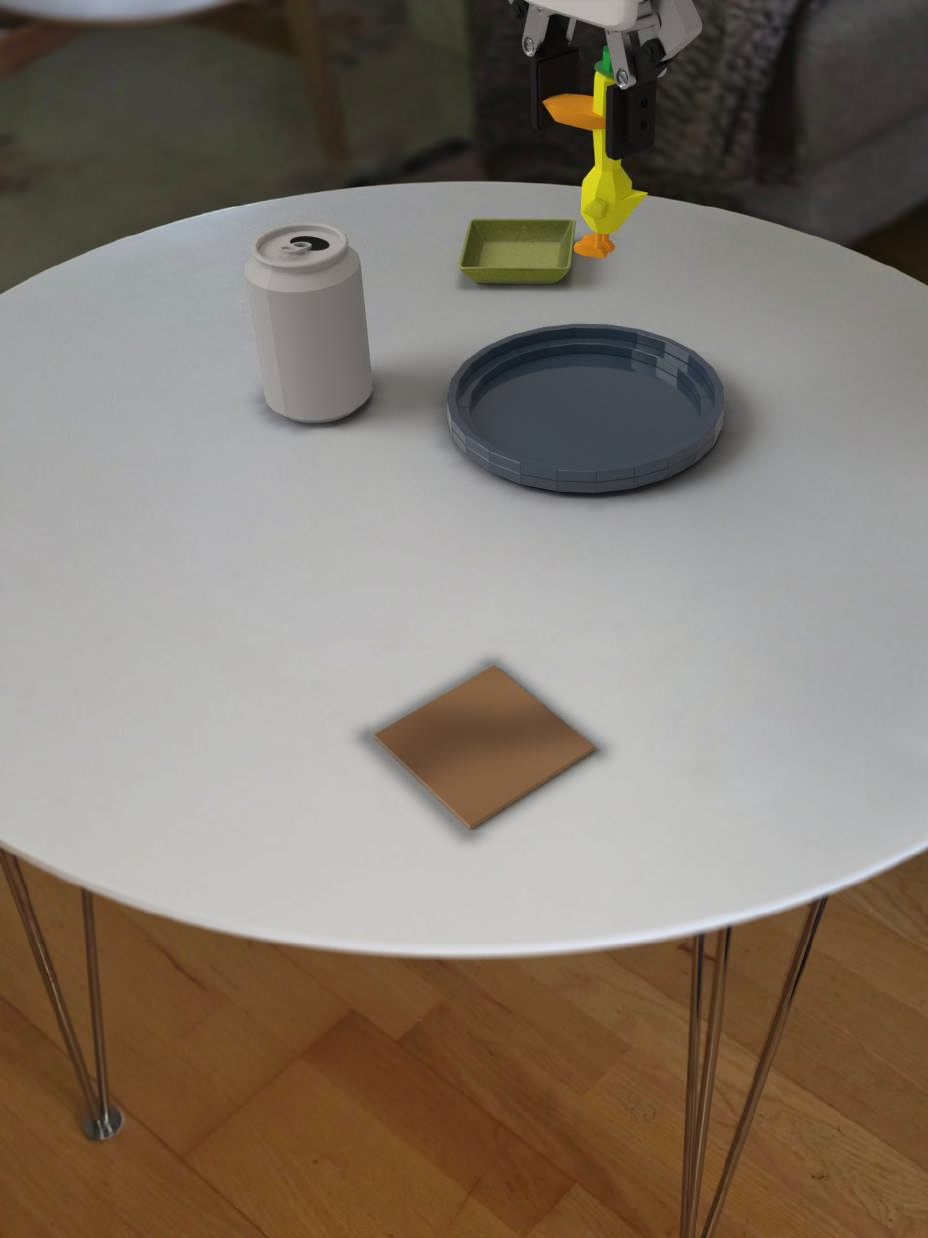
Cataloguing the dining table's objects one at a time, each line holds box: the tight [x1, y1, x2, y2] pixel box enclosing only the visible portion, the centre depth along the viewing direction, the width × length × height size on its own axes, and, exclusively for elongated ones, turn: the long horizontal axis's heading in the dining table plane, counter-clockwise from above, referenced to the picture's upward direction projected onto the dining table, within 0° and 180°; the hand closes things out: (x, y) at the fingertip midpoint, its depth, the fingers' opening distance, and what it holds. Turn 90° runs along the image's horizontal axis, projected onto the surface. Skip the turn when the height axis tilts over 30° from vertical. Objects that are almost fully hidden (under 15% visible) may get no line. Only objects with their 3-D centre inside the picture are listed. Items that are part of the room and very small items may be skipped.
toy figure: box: [543, 44, 649, 259], centre depth 78 cm, size 7×4×12 cm, turn 59°
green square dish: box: [457, 217, 577, 285], centre depth 108 cm, size 9×9×2 cm
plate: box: [445, 323, 726, 494], centre depth 91 cm, size 18×18×2 cm
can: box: [243, 221, 374, 424], centre depth 91 cm, size 8×8×12 cm
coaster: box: [373, 664, 595, 831], centre depth 69 cm, size 8×8×1 cm
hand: (591, 134), depth 78 cm, fingers closed on toy figure, 5 cm apart
